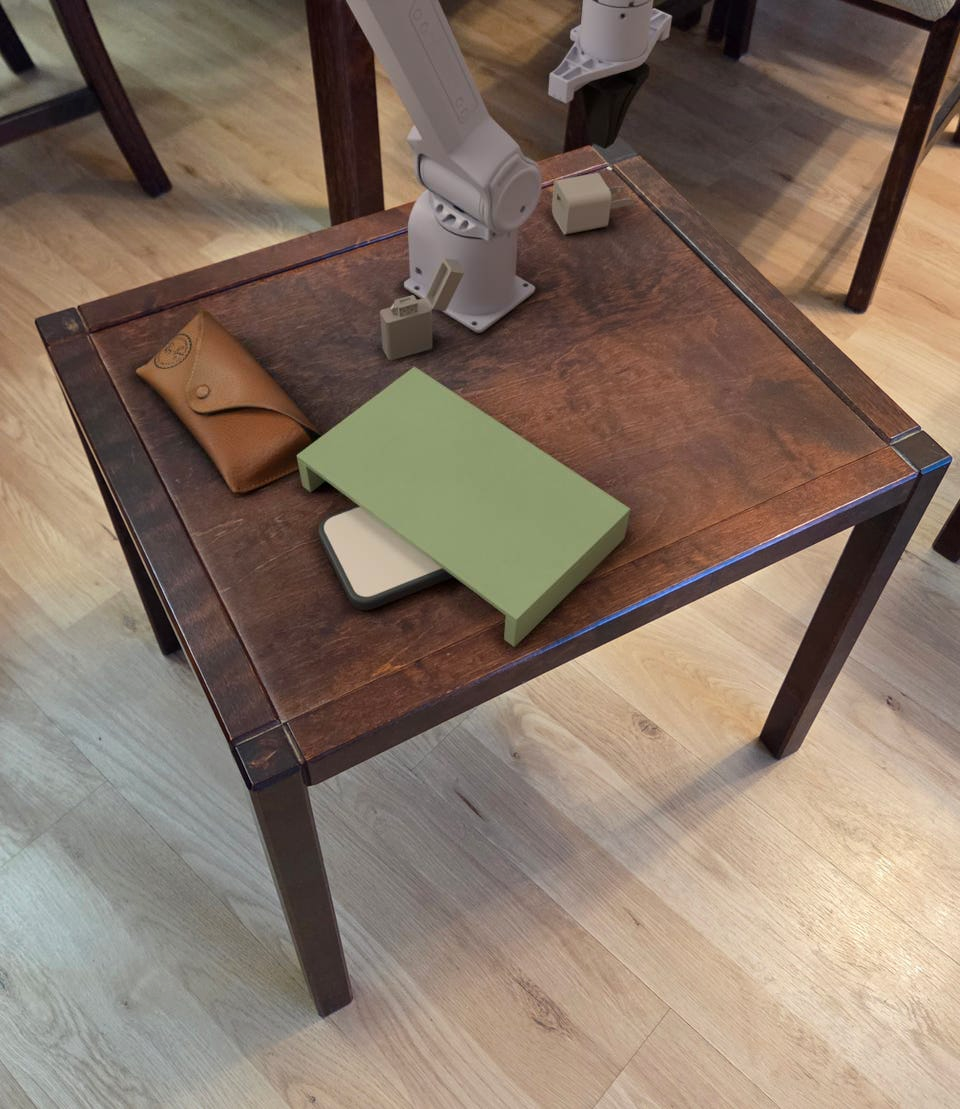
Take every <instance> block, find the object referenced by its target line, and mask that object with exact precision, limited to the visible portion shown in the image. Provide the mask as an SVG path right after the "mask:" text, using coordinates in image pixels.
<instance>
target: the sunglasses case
mask: <svg viewBox="0 0 960 1109" xmlns="http://www.w3.org/2000/svg"><path fill="white" fill-rule="evenodd" d="M135 374H136V375H137V376H138V377H139V378H140V380H142V381H143V382H144V383H146V384H147V385H148V386H149V387H150V388H151V389H153V391H155V392H156V393H157V394H158V395H159V396H160V397H161V398H162V400H164V402H165V403H166V404H167V405H168V407H170V409H171V410H172V411H173V412H174V413H175V415H176V416H177V417H178V418H179V420H180V421H181V422H182V423H183V425H184V426H185V427H186V428H187V430H188V431H189V432H190V433H191V435H192V436H193V437H194V438H195V439H196V441H197V443H198V444H199V445H200V446H201V447H202V449H203V450H204V451H205V453H206V454H207V455H208V457H209V459H211V461H212V462H213V463H214V465H215V467H216V468H217V470H218V471H219V473H220V475H221V477H222V478H223V480H224V481H225V483H226V485H227V487H228V488H229V490H230V491H231V492H232V493H233V494H247V493H249V492H252V491H254V490H258V489H260V488H262V487H265V486H267V485H270V484H273V483H274V482H277V481H279V480H281V479H283V478H285V477H287V476H290V475H291V474H293V473H296V472H297V471H299V465H298V459H297V455H298V454H299V453H300V452H302V451H303V450H304V449H306V448H307V447H308V446H310V445H311V444H312V443H314V442H315V441H316V440H318V439H319V438H320V437H322V436H323V434H321V432H320V431H319V430H318V429H317V428H316V427H315V425H313V423H312V422H311V421H310V419H309V418H307V415H305V414H304V413H303V411H302V410H301V409H300V407H298V405H297V404H296V402H294V401H293V399H292V398H291V397H290V396H289V395H288V394H287V393H286V392H285V390H283V388H282V387H281V386H280V385H279V384H278V383H277V382H276V381H275V380H274V379H273V377H272V376H271V375H270V374H269V373H268V372H267V370H266V369H264V368H263V366H262V365H261V364H260V363H259V362H258V361H257V360H256V359H255V357H254V356H252V355H251V354H250V352H249V351H248V350H247V349H246V347H244V346H243V345H242V344H241V342H239V341H238V339H237V338H236V337H235V336H234V335H233V334H232V333H231V332H230V331H229V330H228V329H227V328H226V327H225V326H224V325H223V324H222V323H221V322H219V321H218V320H217V319H216V318H215V317H214V316H213V315H212V314H211V313H210V312H209V311H208V310H207V309H205V308H199V309H198V310H197V315H196V316H194V317H193V318H192V319H191V320H190V321H189V322H188V323H187V324H186V325H185V326H184V327H183V328H182V329H181V330H180V331H179V332H177V334H176V335H175V336H174V337H173V338H172V339H171V340H170V341H169V342H167V344H166V345H164V346H163V347H162V348H161V349H160V351H158V352H157V353H156V354H155V355H154V356H153V357H152V358H151V359H150V360H149V361H148V362H147V363H146V364H143V365H141V366H139V367H137V368H136V370H135Z"/></svg>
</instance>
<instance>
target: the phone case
mask: <svg viewBox="0 0 960 1109" xmlns="http://www.w3.org/2000/svg"><path fill="white" fill-rule="evenodd" d="M317 533H318V539H319V541H320V544H321V545H322V548H323V550H324V551H325V554H326V556H327V558H328V560H329V562H330V564H331V566H332V569H333V571H334V572H335V574H336V576H337V578H338V580H339V583H340V584H341V586H342V588H343V590H344V592H345V594H346V597H347V598H348V600H349V603H350V604H351V605H352V606H353V607H354V608H355V609H357V610H359V611H373V610H375V609H377V608H380V607H383V606H384V605H387V604H389V603H392V602H394V601H397V600H399V599H402V598H404V597H407V596H411V595H412V594H414V593H417V592H419V591H422V590H424V589H427V588H430V587H432V586H435V585H437V584H440V583H442V582H445V581H447V580H449V579H452V578H455V577H454V576H452V575H451V574H450V573H448V572H447V571H446V570H444V569H443V568H442V567H440V566H439V565H438V564H436V563H435V562H434V561H432V560H431V559H430V558H428V557H427V556H426V555H424V554H423V553H422V552H420V551H419V550H418V549H416V548H415V547H414V546H412V545H411V544H410V543H408V542H407V541H406V540H404V539H403V538H402V537H400V536H399V535H398V534H396V533H395V532H394V531H392V530H391V529H390V528H388V527H387V526H386V525H384V524H383V523H382V522H380V521H379V520H378V519H376V518H375V517H374V516H372V515H371V514H370V513H368V512H367V511H366V510H364V509H363V508H362V507H360V506H359V505H358V504H356V505H355V506H352V507H349V508H347V509H344V510H341V511H338V512H335V513H333V514H331V515H329V516H326V517H324V518H323V519H322V520H321V521H320V522H319V523H318V526H317Z"/></svg>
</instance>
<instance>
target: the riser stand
mask: <svg viewBox="0 0 960 1109" xmlns="http://www.w3.org/2000/svg"><path fill="white" fill-rule="evenodd" d="M297 459H298V465H299V470H298V471H299V475H300V481H301V486H302V487H303V488H304V489H305V490H307V491H308V492H309V493H312V492H314V491H315V490H316V489H318V488H319V487H320V486H321V485H323V484H324V483H325V482H327V483H328V484H330V485H331V486H332V487H333V488H334V489H336V490H337V491H339V493H341V494H343V495H344V496H346V497H347V498H348V499H350V500H351V501H352V502H353V503H354V504H356V505H359V506H360V507H362V508H363V509H364V510H366V511H367V512H368V513H370V514H371V515H372V516H374V517H375V518H376V519H378V520H379V521H380V522H382V523H383V524H384V525H386V526H387V527H388V528H390V529H391V530H392V531H394V532H395V533H396V534H398V535H399V536H400V537H402V538H403V539H404V540H406V541H407V542H408V543H410V544H411V545H412V546H414V547H415V548H416V549H418V550H419V551H420V552H422V553H423V554H424V555H426V556H427V557H428V558H430V559H431V560H432V561H434V562H435V563H436V564H438V565H439V566H440V567H442V568H443V569H444V570H446V571H447V572H448V573H450V574H451V575H452V576H454V577H453V578H455V579H456V580H458V581H459V582H460V583H462V584H463V585H464V586H466V588H468V589H470V590H471V591H473V592H474V593H475V594H477V596H480V598H481V599H483V600H484V601H486V602H487V603H488V604H490V605H492V607H493V608H495V609H497V611H499V612H500V613H502V614H503V615H504V616H505V620H504V633H503V634H504V635H503V636H504V637H503V640H504V641H505V642H506V643H508V644H510V645H511V646H512V647H514V648H515V647H517V645H518V644H520V642H521V641H523V640H524V638H526V637H527V635H529V633H531V632H532V631H533V630H534V629H535V628H536V627H537V626H538V625H539V624H540V623H541V622H542V621H543V620H544V619H545V618H546V617H547V616H548V615H549V614H550V613H551V612H552V611H553V609H555V608H556V607H557V606H558V605H559V604H560V603H561V602H562V601H564V599H565V598H566V597H567V596H568V595H569V594H570V593H571V592H572V591H573V590H574V589H575V588H576V587H577V586H578V585H579V584H581V582H582V581H583V580H585V579H586V577H588V575H589V574H591V573H592V571H593V570H594V569H595V568H597V567H598V565H600V563H601V562H603V561H604V560H605V559H606V558H607V557H608V556H609V554H611V553H612V552H613V551H614V550H615V549H616V548H617V547H618V546H619V545H620V544H621V543H622V542H623V541H624V540H625V538H626V532H627V528H628V524H629V518H630V513H631V508H630V507H629V506H627V505H626V504H624V503H623V502H621V501H619V500H618V499H616V497H613V496H612V495H611V494H609V493H608V492H606V491H604V490H602V488H600V487H598V486H597V485H595V484H594V483H593V482H591V481H589V480H588V479H586V478H584V477H583V476H581V474H578V473H577V472H576V471H574V470H572V469H571V468H569V467H568V466H567V465H565V464H563V463H562V462H561V461H559V460H557V459H556V458H554V457H553V456H551V455H550V454H548V453H547V452H546V451H544V450H542V449H540V448H539V447H538V446H537V445H534V444H533V443H532V442H530V441H528V440H527V439H525V438H524V437H522V436H521V435H519V434H518V433H516V432H515V431H514V430H512V429H510V428H509V427H507V426H506V425H505V424H502V422H500V421H498V420H497V419H496V418H494V417H492V416H490V415H489V414H487V413H486V412H484V411H483V410H482V409H480V408H478V407H477V406H475V405H474V404H472V403H470V402H469V401H468V400H466V399H465V398H463V397H461V396H460V395H458V394H457V393H456V392H454V391H452V390H451V389H449V388H448V387H446V386H445V385H443V384H442V383H441V382H439V381H437V380H436V379H434V378H432V376H430V375H428V374H427V373H426V372H424V371H422V370H420V369H419V368H418V367H416V366H413V367H412V368H411V369H409V370H408V371H407V372H405V373H404V374H402V375H401V376H400V377H398V378H397V379H396V380H394V381H393V382H392V383H390V384H389V385H388V386H387V387H385V388H384V389H382V390H381V391H380V392H379V393H377V394H376V395H375V396H373V397H372V398H371V399H369V400H368V401H367V402H365V403H364V404H363V405H361V406H360V407H359V408H357V409H356V410H355V411H353V412H352V413H351V414H349V415H348V416H347V417H346V418H344V419H343V420H341V421H340V422H339V423H338V424H336V425H335V426H333V427H332V428H331V429H329V430H328V431H327V432H325V433H324V434H322V437H320V438H319V439H318V440H316V441H315V442H314V443H312V444H311V445H310V446H308V447H307V448H306V449H304V450H303V451H302V452H300V453H299V454H298V455H297Z"/></svg>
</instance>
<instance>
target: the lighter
mask: <svg viewBox="0 0 960 1109" xmlns="http://www.w3.org/2000/svg"><path fill="white" fill-rule="evenodd" d="M463 274H464V270H463V268H462V267H461V265H460V264H459V262H458V261H457V260H451V259H445V258H444V259H442V261H441V263H440V266H439V268H438V270H437V272H436V274H435V276H434V278H433V281H432V283H431V285H430V287H429V289H428V291H427V293H426V296H425V299H423V298H422V299H421V298H419V299H417V298H416V296H415V294H411V295H408V296H404V297H401V298H397V299H394V300H393V301H394V303H393V304H392V305H391V306H390V307H386V308H384V309H380V311H379V318H380V329H381V330H380V332H381V341H382V342H381V344H382V346H381V347H382V351H383V352H384V355H385V356H386V358H387V360H388V361H394V360H398V359H402V358H404V357H408V356H411V355H412V356H413V355H415V354H419V353H423V352H425V351H429V350H432V349H433V314H432V313H433V311H432V310H435V311H440V312H442V311H446V309H447V307H448V305H449V303H450V301H451V299H452V297H453V295H454V293H455V291H456V289H457V287H458V285H459V283H460V281H461V279H462V277H463Z"/></svg>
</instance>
